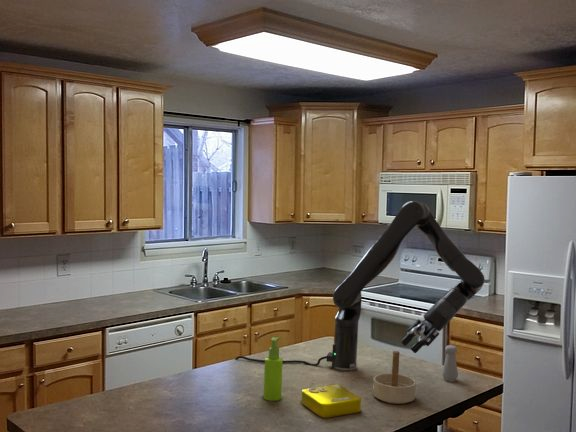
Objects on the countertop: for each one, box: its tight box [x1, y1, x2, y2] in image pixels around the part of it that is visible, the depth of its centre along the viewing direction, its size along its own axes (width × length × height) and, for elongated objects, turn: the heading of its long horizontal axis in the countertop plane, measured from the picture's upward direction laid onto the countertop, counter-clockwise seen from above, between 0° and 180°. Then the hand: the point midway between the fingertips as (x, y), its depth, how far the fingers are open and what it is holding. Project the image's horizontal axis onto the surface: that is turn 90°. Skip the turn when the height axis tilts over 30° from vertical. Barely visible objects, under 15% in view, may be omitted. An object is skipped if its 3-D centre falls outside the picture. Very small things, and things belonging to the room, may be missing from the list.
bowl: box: [372, 372, 417, 405], centre depth 200 cm, size 14×14×6 cm
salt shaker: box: [441, 344, 459, 383], centre depth 220 cm, size 6×6×13 cm
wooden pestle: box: [388, 350, 401, 387], centre depth 200 cm, size 4×4×15 cm
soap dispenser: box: [263, 336, 284, 402], centre depth 196 cm, size 6×7×20 cm
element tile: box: [301, 383, 362, 419], centre depth 189 cm, size 15×15×5 cm
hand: (407, 347), depth 200 cm, fingers open, 8 cm apart
